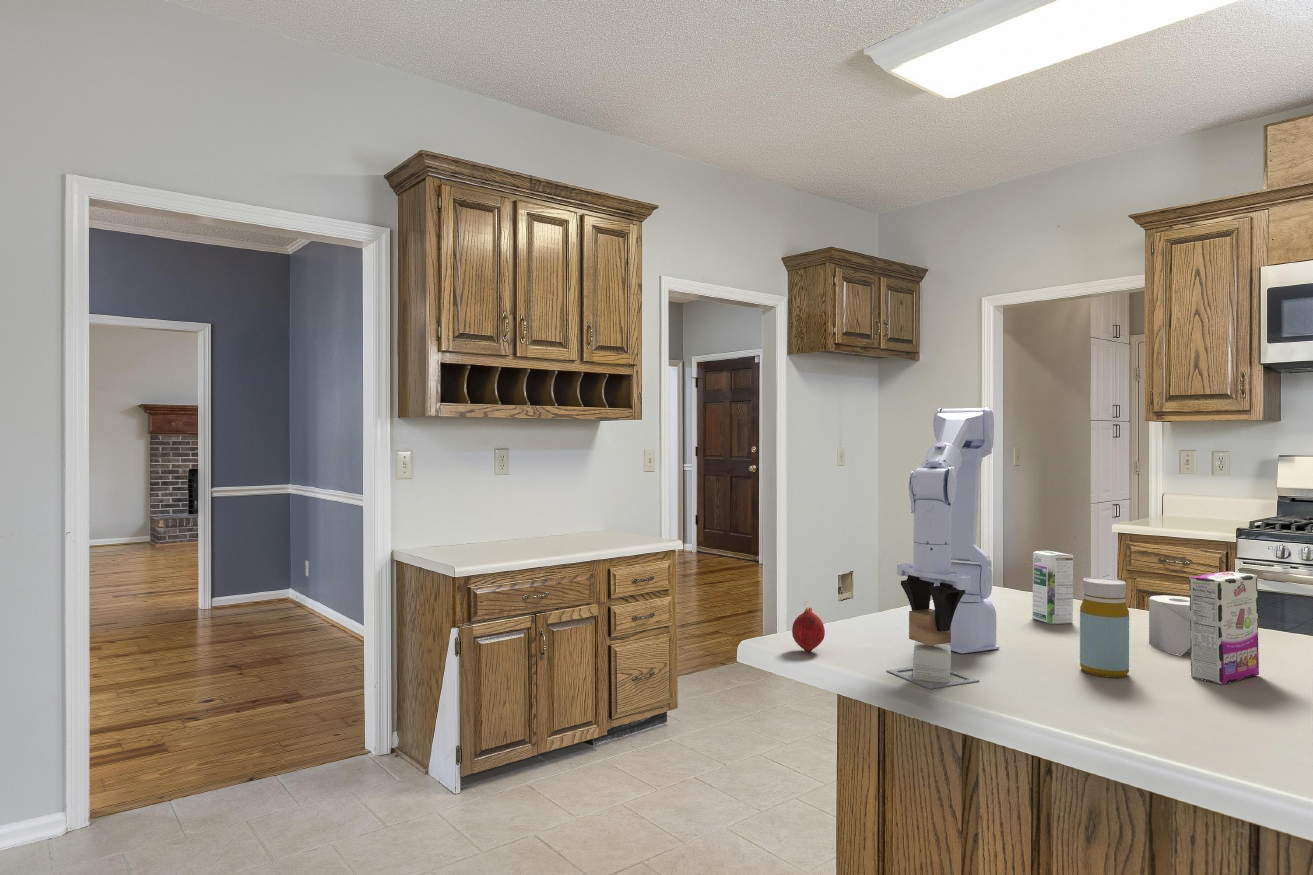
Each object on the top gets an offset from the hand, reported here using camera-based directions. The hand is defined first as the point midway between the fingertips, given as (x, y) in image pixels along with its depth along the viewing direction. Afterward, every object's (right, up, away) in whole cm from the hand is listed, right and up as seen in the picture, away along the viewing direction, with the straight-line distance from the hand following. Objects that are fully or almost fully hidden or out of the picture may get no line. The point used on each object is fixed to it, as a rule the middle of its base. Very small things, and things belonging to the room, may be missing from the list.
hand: (932, 627), depth 126 cm
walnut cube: (0, -2, 0) cm, 2 cm away
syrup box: (+40, -9, +40) cm, 57 cm away
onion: (-17, -8, +14) cm, 24 cm away
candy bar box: (+48, -8, +1) cm, 48 cm away
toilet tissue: (+52, -9, +18) cm, 56 cm away
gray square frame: (0, -8, 0) cm, 8 cm away
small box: (0, -8, 0) cm, 8 cm away
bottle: (+29, -8, +3) cm, 31 cm away
